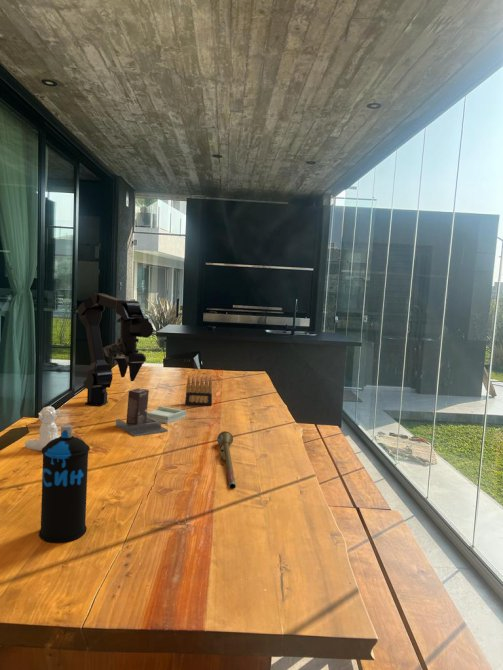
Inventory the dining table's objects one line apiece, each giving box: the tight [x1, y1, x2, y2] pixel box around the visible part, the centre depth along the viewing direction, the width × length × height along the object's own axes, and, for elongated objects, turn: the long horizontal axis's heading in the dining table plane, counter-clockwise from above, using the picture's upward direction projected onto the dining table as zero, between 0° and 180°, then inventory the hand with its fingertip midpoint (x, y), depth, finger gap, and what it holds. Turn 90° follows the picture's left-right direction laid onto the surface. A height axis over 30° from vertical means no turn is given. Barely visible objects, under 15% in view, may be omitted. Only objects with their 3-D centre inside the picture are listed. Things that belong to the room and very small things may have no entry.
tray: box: [147, 405, 187, 425], centre depth 174 cm, size 12×12×2 cm
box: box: [125, 387, 150, 425], centre depth 161 cm, size 6×4×12 cm
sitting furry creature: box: [24, 405, 61, 452], centre depth 134 cm, size 10×9×12 cm
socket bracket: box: [115, 416, 169, 437], centre depth 159 cm, size 14×12×2 cm
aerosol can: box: [38, 424, 91, 544], centre depth 89 cm, size 8×8×20 cm
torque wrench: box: [216, 430, 237, 489], centre depth 132 cm, size 5×35×5 cm
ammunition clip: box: [184, 374, 213, 407], centre depth 197 cm, size 11×2×12 cm, turn 96°
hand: (127, 379), depth 175 cm, fingers open, 9 cm apart
